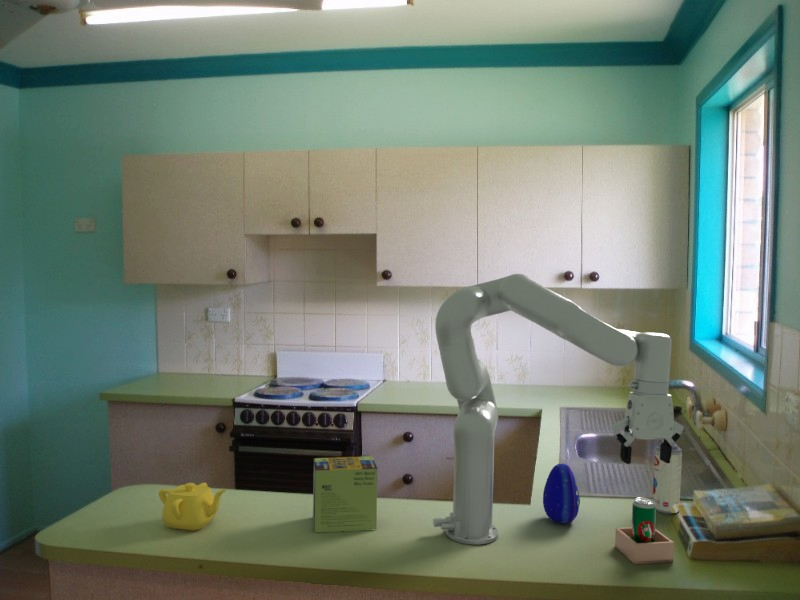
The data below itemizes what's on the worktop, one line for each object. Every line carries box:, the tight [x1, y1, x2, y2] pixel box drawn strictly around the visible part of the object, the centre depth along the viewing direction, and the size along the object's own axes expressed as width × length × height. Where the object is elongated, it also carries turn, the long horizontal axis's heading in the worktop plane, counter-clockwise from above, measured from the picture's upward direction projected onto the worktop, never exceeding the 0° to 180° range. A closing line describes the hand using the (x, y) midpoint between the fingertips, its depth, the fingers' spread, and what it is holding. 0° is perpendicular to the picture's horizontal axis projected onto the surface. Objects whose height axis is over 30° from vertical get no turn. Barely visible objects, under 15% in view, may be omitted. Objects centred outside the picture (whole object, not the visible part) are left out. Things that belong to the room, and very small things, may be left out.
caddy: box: [614, 526, 675, 565], centre depth 156 cm, size 9×9×4 cm
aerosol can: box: [652, 440, 683, 515], centre depth 184 cm, size 7×7×20 cm
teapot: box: [158, 482, 227, 532], centre depth 168 cm, size 14×13×10 cm
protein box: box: [312, 456, 378, 534], centre depth 170 cm, size 10×15×16 cm
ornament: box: [542, 463, 581, 524], centre depth 175 cm, size 11×9×15 cm
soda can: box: [631, 496, 657, 543], centre depth 156 cm, size 5×5×12 cm
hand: (645, 461), depth 155 cm, fingers open, 9 cm apart
